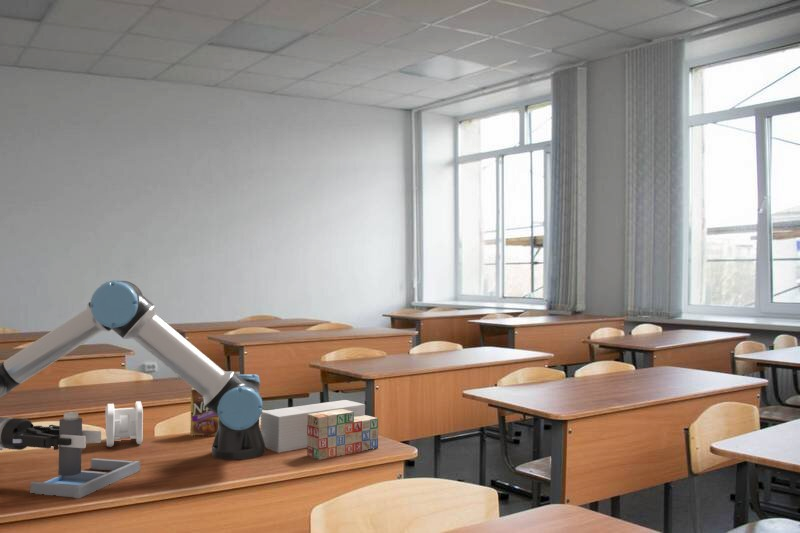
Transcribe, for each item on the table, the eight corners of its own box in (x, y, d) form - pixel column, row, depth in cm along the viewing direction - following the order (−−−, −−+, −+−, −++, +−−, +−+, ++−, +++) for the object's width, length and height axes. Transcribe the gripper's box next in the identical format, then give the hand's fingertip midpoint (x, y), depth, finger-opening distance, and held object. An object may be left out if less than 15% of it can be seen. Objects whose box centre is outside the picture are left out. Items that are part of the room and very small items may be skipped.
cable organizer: (142, 446, 214) (143, 408, 214) (105, 450, 210) (105, 410, 210) (140, 436, 228) (141, 400, 228) (105, 439, 224) (105, 402, 224)
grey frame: (139, 470, 188) (139, 461, 188) (78, 498, 164) (78, 487, 164) (93, 467, 191) (93, 457, 191) (26, 493, 168) (26, 483, 168)
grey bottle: (85, 471, 174) (86, 411, 174) (71, 476, 169) (73, 415, 170) (67, 469, 175) (69, 410, 176) (53, 474, 171) (54, 414, 171)
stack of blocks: (366, 445, 219) (366, 405, 219) (378, 449, 214) (378, 408, 214) (306, 455, 205) (307, 413, 205) (318, 460, 200) (318, 416, 200)
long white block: (345, 432, 237) (345, 399, 237) (364, 437, 229) (365, 404, 229) (260, 446, 216) (260, 411, 216) (278, 453, 208) (278, 416, 208)
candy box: (189, 436, 227) (190, 389, 228) (192, 433, 232) (192, 386, 232) (218, 436, 228) (218, 388, 229) (220, 433, 233) (220, 386, 233)
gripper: (36, 440, 185) (115, 446, 180) (-19, 457, 168) (66, 464, 162) (37, 411, 185) (115, 416, 180) (-18, 425, 168) (67, 431, 162)
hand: (92, 439), depth 171 cm, fingers closed on grey bottle, 5 cm apart
